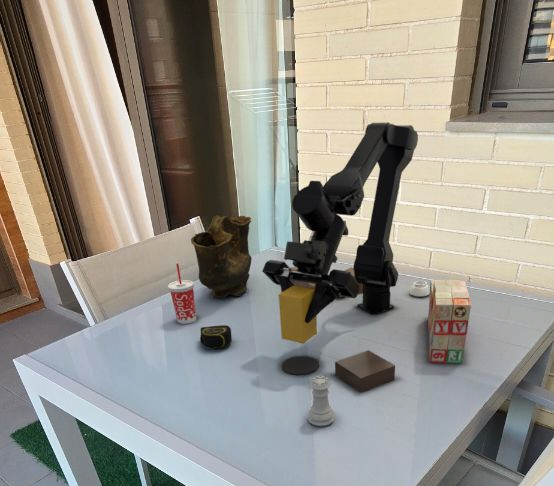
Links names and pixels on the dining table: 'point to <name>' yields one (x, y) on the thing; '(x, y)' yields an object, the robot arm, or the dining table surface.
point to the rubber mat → (300, 365)
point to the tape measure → (215, 336)
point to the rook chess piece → (320, 403)
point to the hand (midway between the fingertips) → (294, 319)
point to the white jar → (420, 289)
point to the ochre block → (296, 314)
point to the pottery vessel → (224, 255)
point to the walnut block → (364, 370)
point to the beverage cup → (183, 299)
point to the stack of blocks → (448, 320)
